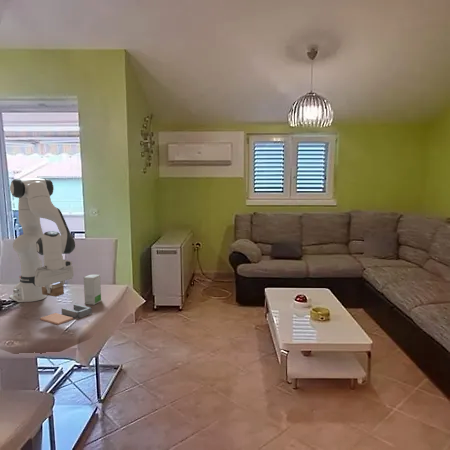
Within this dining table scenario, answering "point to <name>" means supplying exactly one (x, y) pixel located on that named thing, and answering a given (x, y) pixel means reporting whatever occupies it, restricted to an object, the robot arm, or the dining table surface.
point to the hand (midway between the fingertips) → (55, 291)
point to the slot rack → (77, 311)
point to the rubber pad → (56, 318)
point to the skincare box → (92, 289)
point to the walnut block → (54, 290)
